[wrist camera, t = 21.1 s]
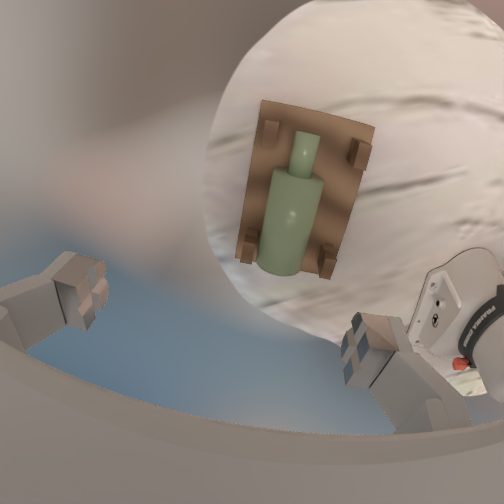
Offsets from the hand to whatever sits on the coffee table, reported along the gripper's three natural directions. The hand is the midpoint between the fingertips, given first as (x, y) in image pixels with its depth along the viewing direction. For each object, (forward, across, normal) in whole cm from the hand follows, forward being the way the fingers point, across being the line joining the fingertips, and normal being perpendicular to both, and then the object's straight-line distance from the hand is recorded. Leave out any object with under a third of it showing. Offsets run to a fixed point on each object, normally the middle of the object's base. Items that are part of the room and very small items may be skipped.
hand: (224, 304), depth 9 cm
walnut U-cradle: (+31, -5, +6) cm, 32 cm away
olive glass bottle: (+27, -4, +15) cm, 31 cm away
